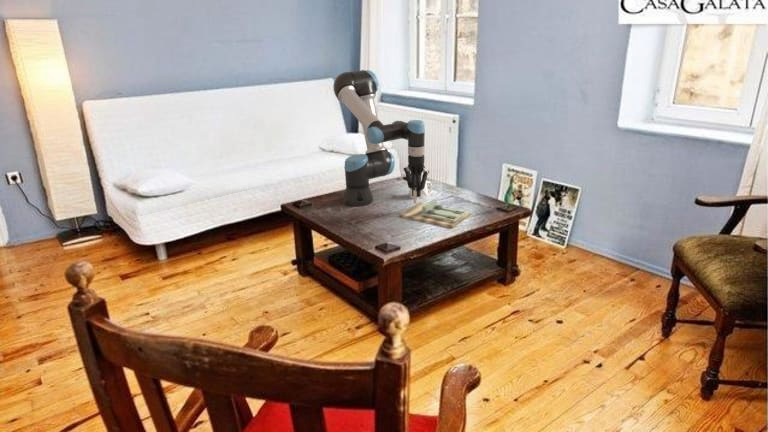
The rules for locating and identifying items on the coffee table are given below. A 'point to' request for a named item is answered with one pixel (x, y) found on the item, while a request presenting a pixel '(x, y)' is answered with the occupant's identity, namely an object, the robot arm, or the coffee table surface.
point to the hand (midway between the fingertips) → (416, 202)
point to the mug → (422, 191)
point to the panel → (441, 212)
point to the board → (416, 215)
